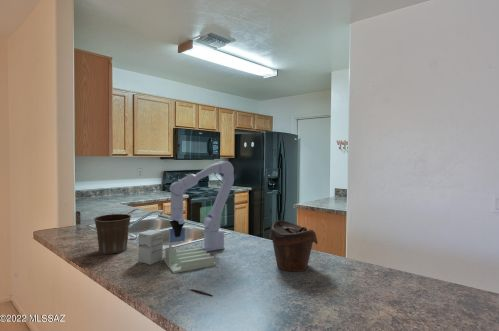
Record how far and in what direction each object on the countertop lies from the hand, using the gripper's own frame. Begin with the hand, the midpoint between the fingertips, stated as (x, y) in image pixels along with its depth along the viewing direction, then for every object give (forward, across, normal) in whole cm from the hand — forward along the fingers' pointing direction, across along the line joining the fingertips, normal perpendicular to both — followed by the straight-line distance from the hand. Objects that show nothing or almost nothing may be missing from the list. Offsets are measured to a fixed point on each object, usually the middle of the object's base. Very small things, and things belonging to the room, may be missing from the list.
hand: (177, 236), depth 136 cm
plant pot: (+8, -18, -26) cm, 32 cm away
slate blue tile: (+2, 0, 0) cm, 2 cm away
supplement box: (+8, +6, -13) cm, 16 cm away
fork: (+8, +42, -6) cm, 43 cm away
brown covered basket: (+8, +40, +38) cm, 55 cm away
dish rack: (+8, +16, +1) cm, 17 cm away
